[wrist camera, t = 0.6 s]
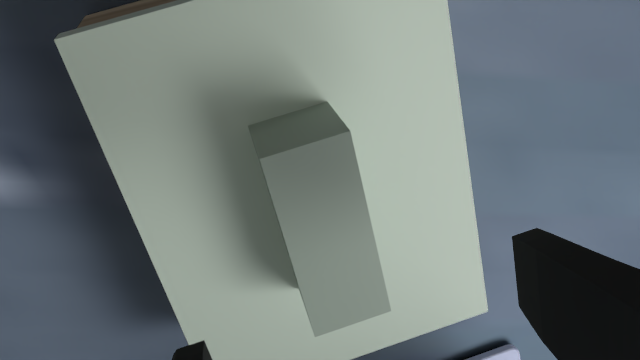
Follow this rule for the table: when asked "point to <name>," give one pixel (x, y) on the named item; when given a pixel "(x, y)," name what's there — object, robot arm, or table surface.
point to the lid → (290, 168)
